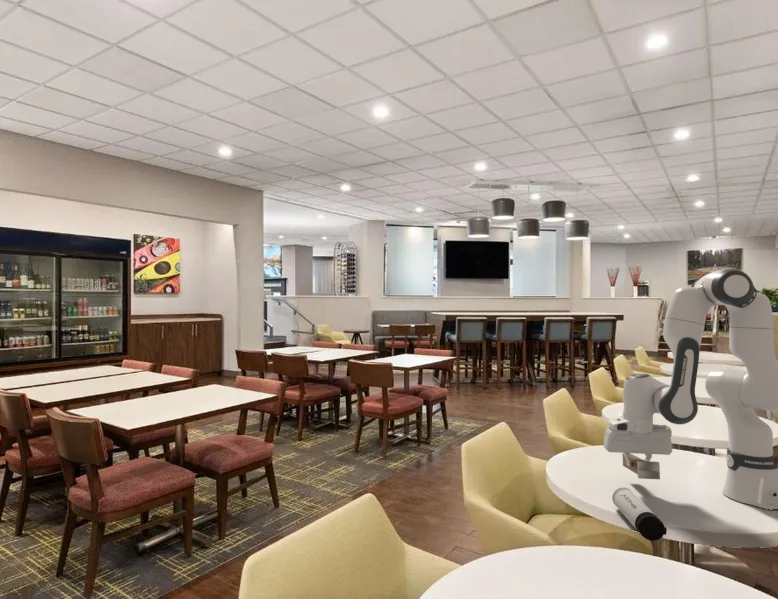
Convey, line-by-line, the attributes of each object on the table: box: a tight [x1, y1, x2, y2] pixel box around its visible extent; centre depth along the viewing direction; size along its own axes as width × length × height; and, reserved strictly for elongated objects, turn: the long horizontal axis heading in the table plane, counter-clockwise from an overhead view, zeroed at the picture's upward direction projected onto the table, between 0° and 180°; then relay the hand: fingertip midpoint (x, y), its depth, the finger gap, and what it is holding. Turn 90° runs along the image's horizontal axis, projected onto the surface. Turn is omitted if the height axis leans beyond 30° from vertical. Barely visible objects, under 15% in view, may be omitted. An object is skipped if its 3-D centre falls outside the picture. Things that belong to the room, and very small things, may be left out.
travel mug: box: [611, 487, 667, 542], centre depth 134 cm, size 6×7×20 cm
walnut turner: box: [622, 453, 661, 480], centre depth 158 cm, size 6×19×5 cm, turn 173°
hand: (637, 466), depth 159 cm, fingers closed on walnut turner, 3 cm apart
